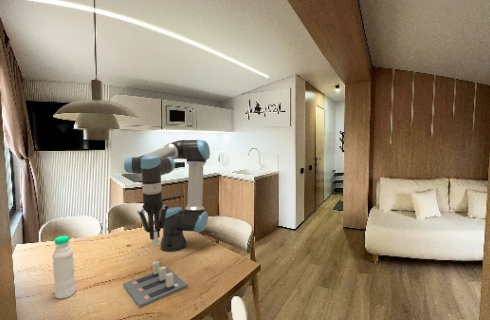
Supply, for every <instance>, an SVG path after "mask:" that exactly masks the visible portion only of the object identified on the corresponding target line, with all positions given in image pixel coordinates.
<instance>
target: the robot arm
mask: <svg viewBox="0 0 490 320" xmlns="http://www.w3.org/2000/svg"><path fill="white" fill-rule="evenodd" d="M210 151H211V150H210V146H209V143H208V142H207V141H206V140H202V139H181V140H176V141H173V142H169V143H167V144H165V145H164V146H163V147H161V148H159V149H156V150H153V151H151V152H148V153H145V154H142V155H140V156H135V157H134V156H132V157H131V156H130V157H127V158H126V159H125V160H124V162H123V169H124V171H125V172H126V173H127V174H133V175H135V174H138V175H139V174H140V175H141V179H142V180H141V181H142V182H141V183H142V184H141V185H142V202H143V205H142V206H141V207H142V208H141V209H140V210H137V211H136V212H137V214H138V216H140V217H139V218H140V221H141V224H142V226H143V229H144V231H145V232H146V233H149V239H150V241H151V245H152V246H153V247H154V248H157V247H160V250H162V251H165V252H176V251H181V250H183V249H185V247H186V246H187V240H186V237H185V235H184V232H193V233H196V232H197V233H199V232H203V231H204V230H205V229H206V226H207V224H208V218H209V215H208V212H207V211H205V207H204V206H203V194H204V193H203V187H204V165H206V164H207V161H209V159H210V157H211V156H210V155H211V152H210ZM175 160H186V163H187V164H188V176H187V177H188V180H187V187H188V188H187V205H186V207H185V208H184V210H183V207H181V206H177V207H170V208H169V206H168V205H166V204H164V203H163V193H162V176H164V175H168V174H170V173H172V172H173V171H174V170H175V168H176V162H175ZM145 212H146V214H147V218H146V215H145ZM147 220H148V221H147ZM161 230H162V237H161V235H160V232H161ZM160 237H161V241H160V244H159V238H160Z"/></svg>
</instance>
